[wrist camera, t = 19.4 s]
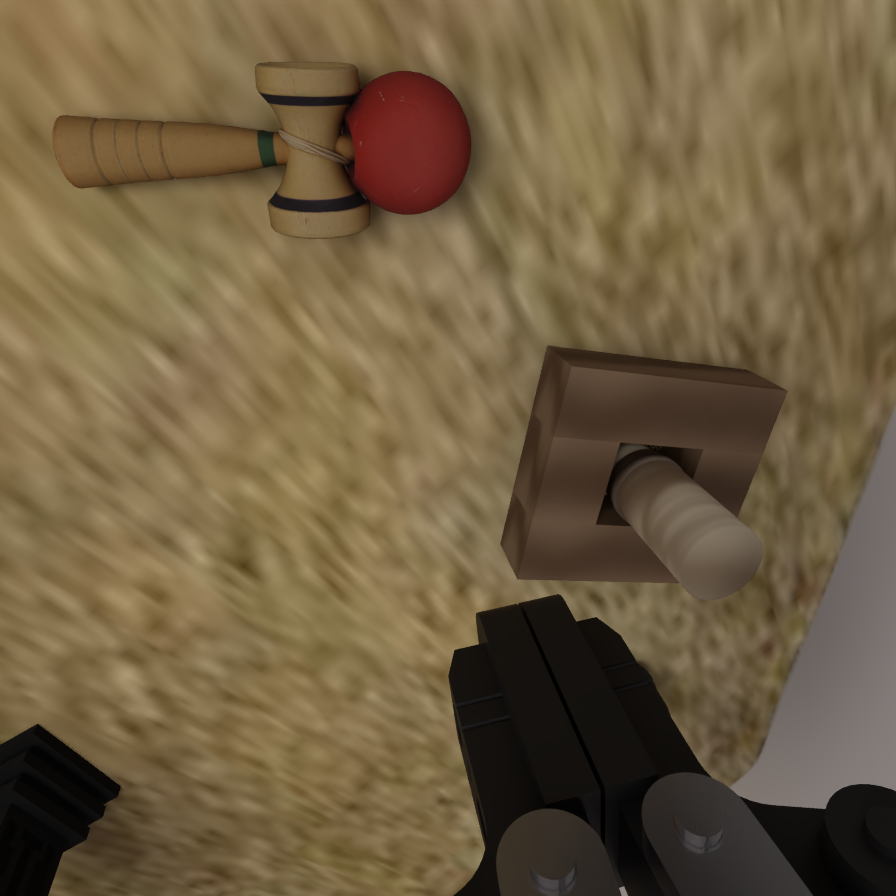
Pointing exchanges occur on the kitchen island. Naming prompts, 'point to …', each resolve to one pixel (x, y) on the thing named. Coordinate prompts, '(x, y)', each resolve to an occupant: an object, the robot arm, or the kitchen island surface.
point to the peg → (682, 523)
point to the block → (595, 448)
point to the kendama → (298, 147)
